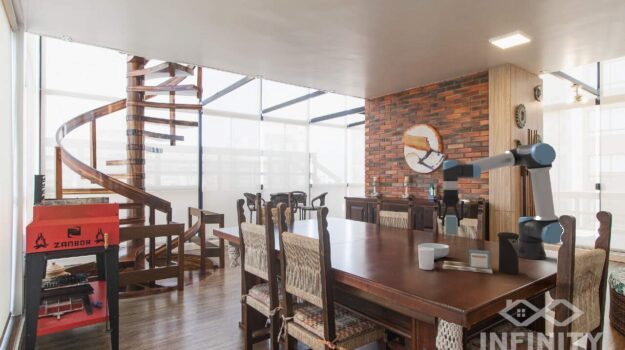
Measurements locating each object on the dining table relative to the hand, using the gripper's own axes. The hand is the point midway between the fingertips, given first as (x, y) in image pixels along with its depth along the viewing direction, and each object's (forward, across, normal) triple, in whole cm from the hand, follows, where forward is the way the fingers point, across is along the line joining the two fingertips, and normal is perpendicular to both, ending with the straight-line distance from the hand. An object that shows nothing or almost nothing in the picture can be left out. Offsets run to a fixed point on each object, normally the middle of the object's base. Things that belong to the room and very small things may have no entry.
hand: (450, 232), depth 186 cm
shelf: (+17, -7, +11) cm, 21 cm away
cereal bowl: (+17, +9, -13) cm, 23 cm away
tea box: (0, 0, 0) cm, 0 cm away
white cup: (+17, +12, +13) cm, 25 cm away
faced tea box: (+16, -12, +12) cm, 23 cm away
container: (+17, -25, +13) cm, 33 cm away
